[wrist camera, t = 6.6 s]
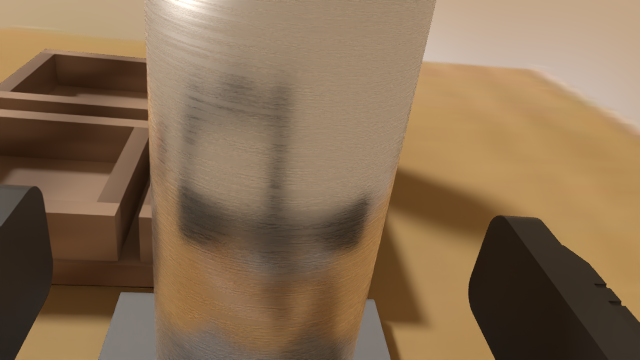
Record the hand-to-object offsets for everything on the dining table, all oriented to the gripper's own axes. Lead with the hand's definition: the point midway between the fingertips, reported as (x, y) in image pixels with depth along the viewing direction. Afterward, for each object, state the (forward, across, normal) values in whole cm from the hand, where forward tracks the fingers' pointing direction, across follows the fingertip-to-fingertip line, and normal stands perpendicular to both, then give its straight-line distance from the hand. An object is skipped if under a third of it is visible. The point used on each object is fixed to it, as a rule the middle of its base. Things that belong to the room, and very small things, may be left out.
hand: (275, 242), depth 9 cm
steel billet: (+2, 0, +7) cm, 7 cm away
